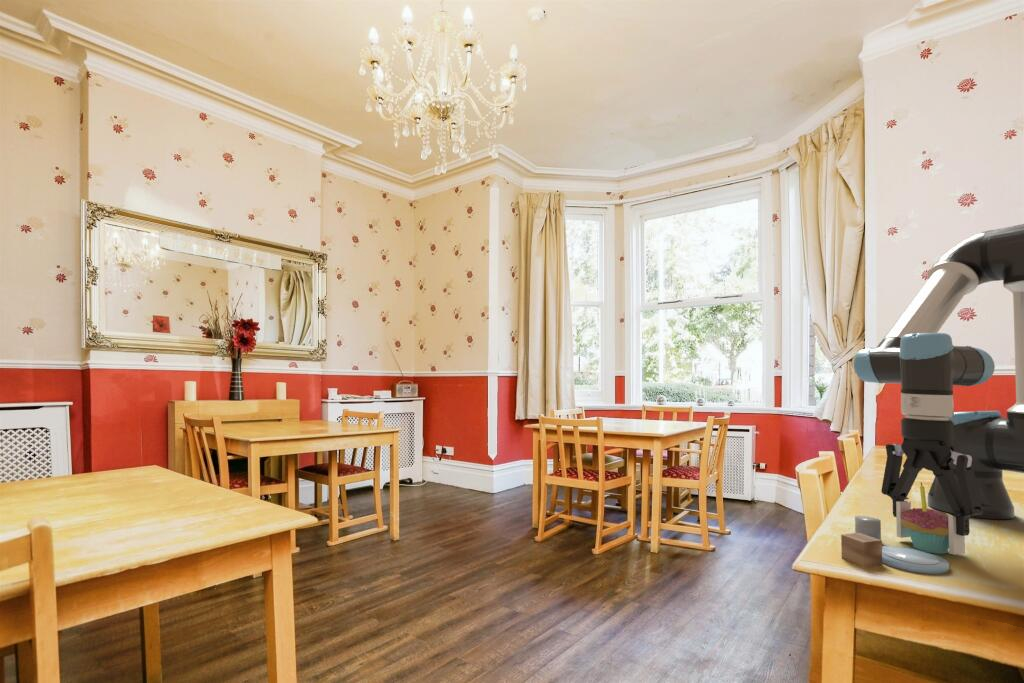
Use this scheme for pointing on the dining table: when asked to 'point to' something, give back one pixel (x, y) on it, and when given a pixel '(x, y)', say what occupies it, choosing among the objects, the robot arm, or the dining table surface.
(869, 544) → the walnut block
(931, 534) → the cupcake
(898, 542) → the dining table surface
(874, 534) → the grey cylinder
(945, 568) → the saucer
